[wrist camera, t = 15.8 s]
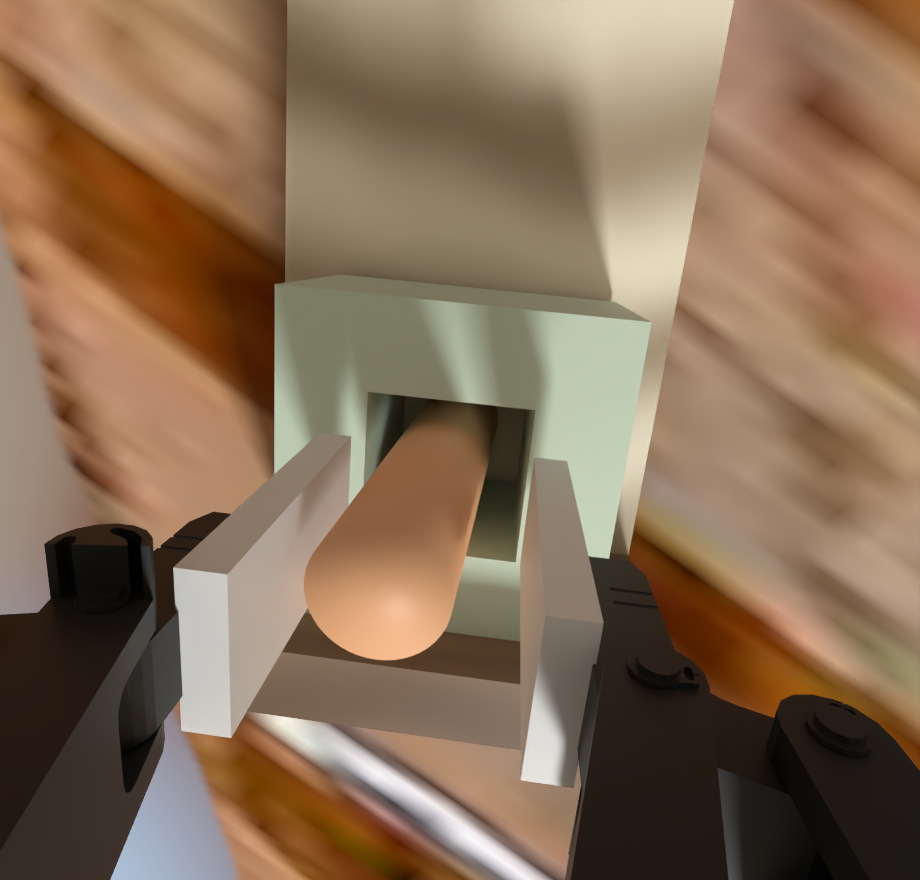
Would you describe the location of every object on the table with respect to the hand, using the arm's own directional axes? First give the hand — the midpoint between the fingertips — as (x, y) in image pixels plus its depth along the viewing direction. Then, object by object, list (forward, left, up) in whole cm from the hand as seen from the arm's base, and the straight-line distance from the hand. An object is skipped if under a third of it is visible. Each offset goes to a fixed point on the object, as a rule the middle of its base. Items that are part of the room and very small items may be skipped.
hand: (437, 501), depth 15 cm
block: (0, 0, -7) cm, 7 cm away
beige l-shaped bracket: (-3, 0, -9) cm, 10 cm away
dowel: (0, 0, -8) cm, 8 cm away
